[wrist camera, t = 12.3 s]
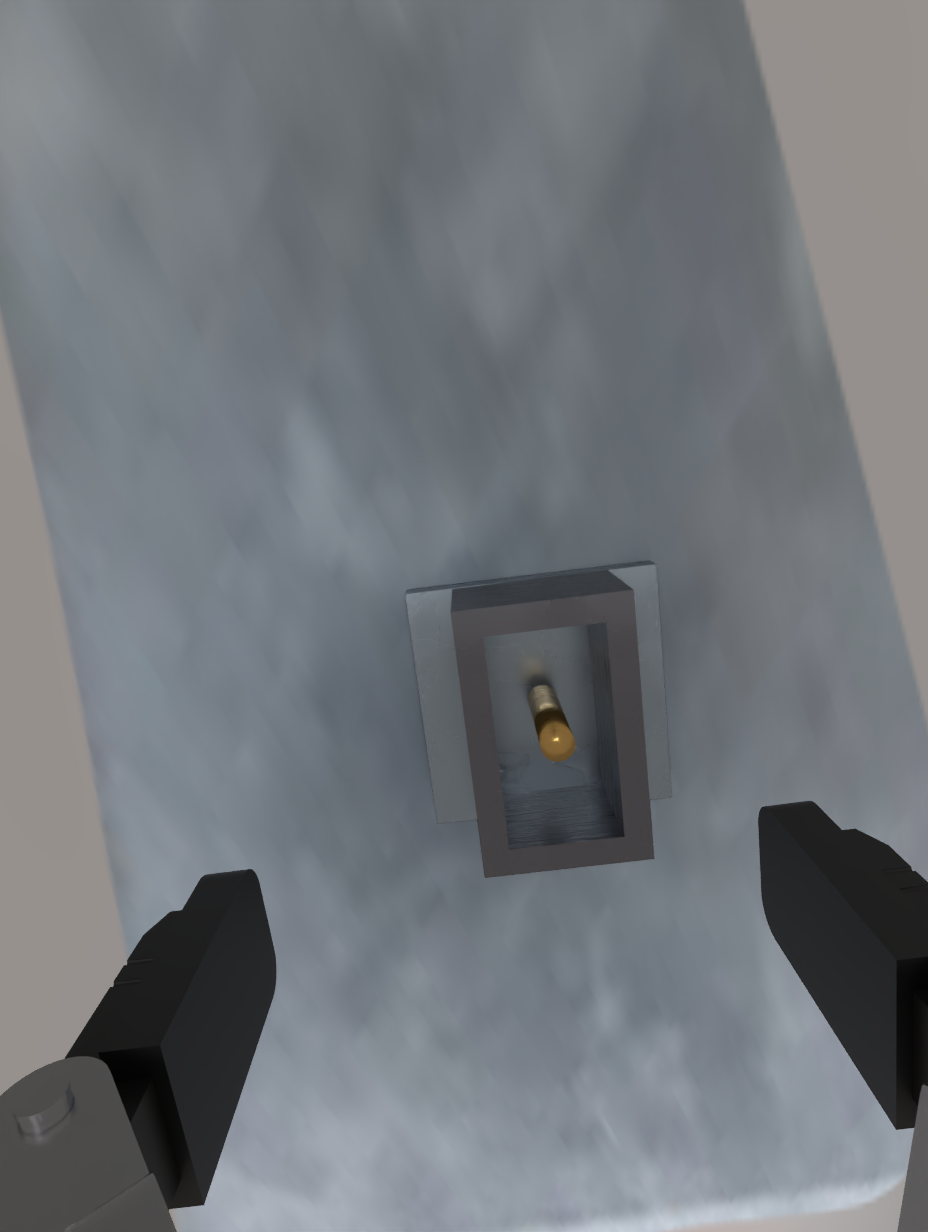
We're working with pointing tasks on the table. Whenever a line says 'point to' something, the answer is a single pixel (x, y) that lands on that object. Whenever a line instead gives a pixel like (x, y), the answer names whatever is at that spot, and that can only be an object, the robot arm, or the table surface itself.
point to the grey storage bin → (619, 806)
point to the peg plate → (531, 697)
